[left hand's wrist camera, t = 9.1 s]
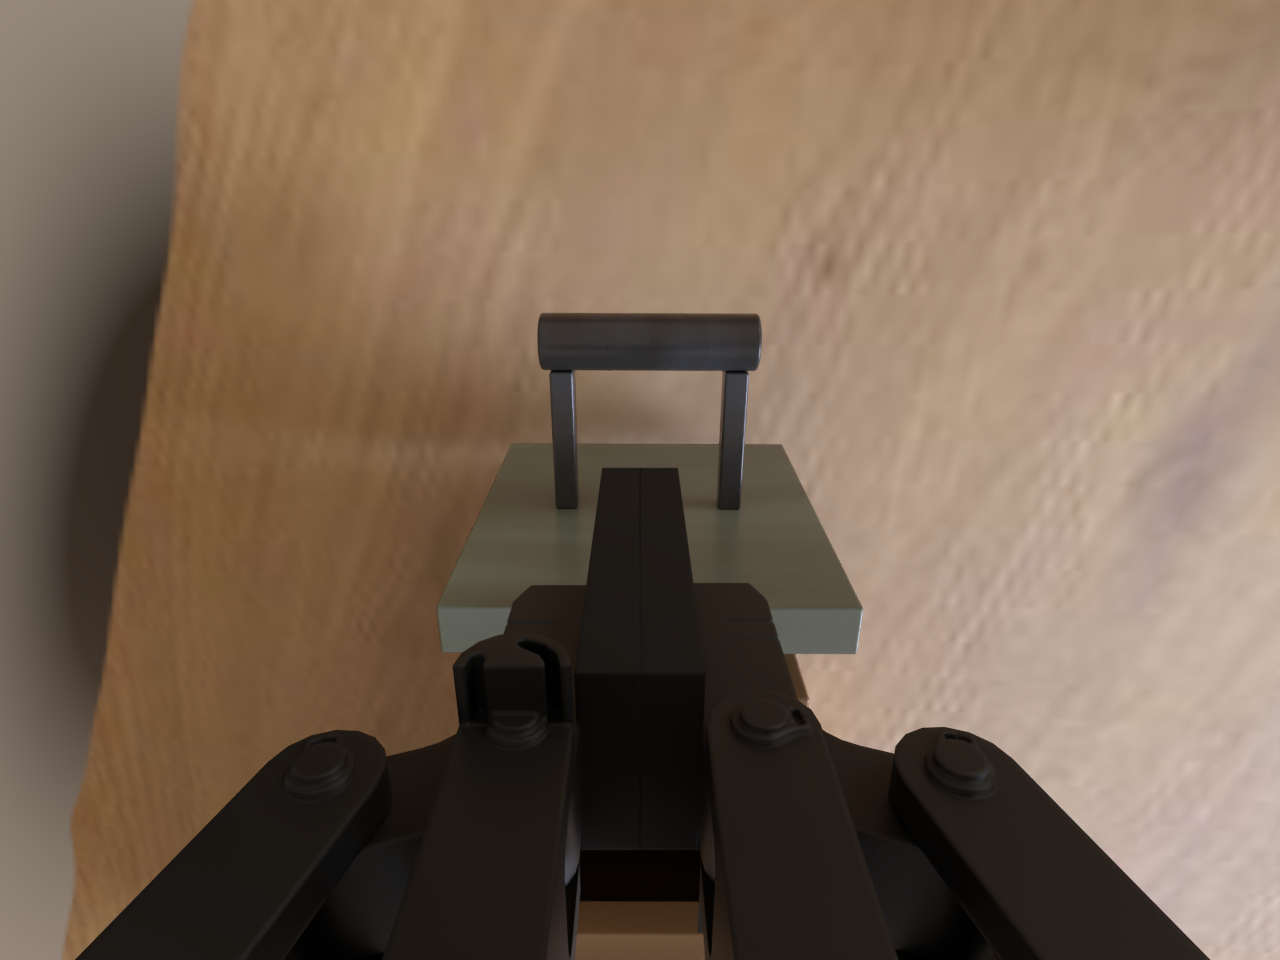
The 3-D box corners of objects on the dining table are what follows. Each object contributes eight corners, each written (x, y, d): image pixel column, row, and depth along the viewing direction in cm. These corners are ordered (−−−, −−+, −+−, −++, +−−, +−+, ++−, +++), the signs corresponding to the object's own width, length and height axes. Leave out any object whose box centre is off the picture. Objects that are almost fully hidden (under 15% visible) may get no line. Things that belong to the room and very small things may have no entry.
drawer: (499, 283, 22) (404, 365, 13) (796, 284, 22) (900, 367, 13) (539, 849, 32) (500, 1119, 23) (746, 851, 32) (788, 1121, 23)
